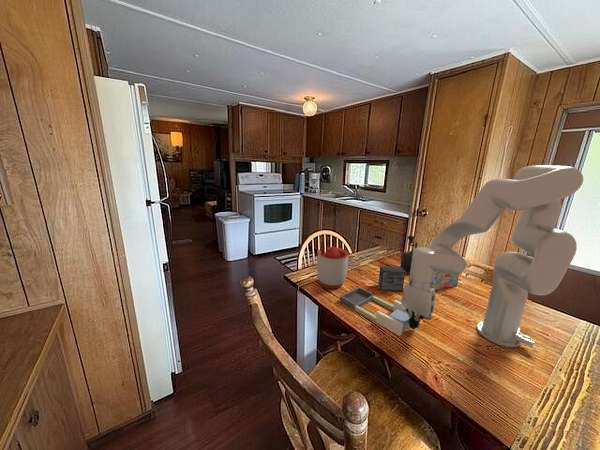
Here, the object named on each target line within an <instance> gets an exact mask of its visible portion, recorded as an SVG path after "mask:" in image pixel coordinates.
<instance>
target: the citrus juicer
mask: <svg viewBox="0 0 600 450" xmlns="http://www.w3.org/2000/svg"><path fill="white" fill-rule="evenodd" d="M316 253H317V262H316V263H317V264H316V266H317V267H316V272H317V277H318V282H319V283H320V285H321V286H322V287H324V288H326V289H332V290H333V289H339V288H341V287H342V286H343V285H344V283H345V281H346V278H347V274H348V268H349V267H348V264H349V256H350V253H349V251H347V250H346V249H344V248H341V247H336V246H329V247H328V246H327V247H326V252H322V250H320V249H318V250H316Z"/></svg>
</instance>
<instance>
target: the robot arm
mask: <svg viewBox="0 0 600 450" xmlns="http://www.w3.org/2000/svg"><path fill="white" fill-rule="evenodd" d="M513 177H514V178H513V179H510V178H509V179H508V178H493V179H491V180H489V181H487V182H486V183H484V185H482V188H481V189H480V190H479V191H478V193H477V194H476V195H475V197H474V198H473V200H471V202H470V204H469V205H468V206H467V208H466V209H465V211H464V213H463V214H461V216H460V217H459V218H458V219H456V220H454V221H453V222H452V223H450V224H448V225H447V226H445V227H444V228H443V229H442V230H440V231H439V233H437V234H436V236H435V237H434V239H433V240H432V242H431V243H430V245H429V247H425V246H419V247H418V246H417V248H415V247H414V249H413V250H412V251H413V256H412V263H411V270H410V272H409V276H408V277H409V278H408V281H406V284H405V285H404V286H405V287H403V292H402V295H401V301H400V302H401V304H402V305H401V307H402V308H403V309H405V310H406V311H407V313H408V316H409V317H410V319H409V324H410V325H409V327H408V328H409V329H412V330H413V331H414V330H415V329H417V328H419V326H420V322H421V321H420V320H425V321H426V320H427V321H431V320H432V319H433V318H432V317H433V316H432V314H434V311H435V303H436V292H435V291H436V290H435V289H436V288H437V285H435V284H434V281H433V280H434V274H435V272H440V273H445V274H451V275H455V274H459V275H460V274H461V273H462V272H464V271H465V270H466V268H467V261H466V259H465V258H464V256H462V255H461V254H459V253H458V252H456V250H454V249H453V248H454V247H455V246H456V244H457V243H459V241H460V240H462V239H463V238H465V237H468V236H473V235H478V234H482V233H487V232H488V231H489V230H490V229H491V228H492V226H493V225H494V224H495V223H496V221H497V220H498V219H499V217H500V216H501V215H502V214H503V212H504V211H505V209H507V210H510V211H515V212H517V211H521V214H520V216H519V218H518V221H517V223H516V225H515V227H514V229H513V232H512V234H511V237H510V241H511V243H512V245H513V246H514V247H515V248H518V249H519V250H521V251H523V252H525V253H528V254H530V255H533V258H532V257H530V256H528V255H525V254H523V253H521V252H518V251H512V250H511V251H503V252H502V253H500V254H498V255H497V256H496V258H494V262H493V268H492V269H493V281H492V285H491V290H490V294H489V296H488V301H487V305H486V310H485V313H484V317H483V318H484V319H483V321H479V322H478V323H477V325H476V330H477V332H478V334H480V335H481V336H482V337H483V338H485V339H486V340H488V341H490V342H492V343H493V344H496V345H498V346H502V347H505V348H506V347H507V348H517V347H519V346H521V344H525V345H527V346H528V347H531V348H533V347H534V345H535V341H533V340H531V337H530V336H529V335H526V334H523V333H522V332H521V328H520V325H521V321H522V317H523V314H524V310H525V307H526V304H527V302H528V301H527V300H528V296H529V295H528V293H530V294H532V295H536V296H547V295H549V294H551V293H553V292H554V291H555V290H556V289H557V288H558V287H559V285H560V283H561V282H562V281H563V278H564V276H565V274H566V272H567V271H568V269H569V267H570V265H571V263H572V261H573V259H574V257H575V255H576V253H577V247H578V245H577V241H576V239H575V237H574V235H572V234H571V233H570V232H567V231H564V230H563V229H560V228H559V229H558V228H556V225H557V222H558V220H559V218H560V215H561V212H562V202H561V200H562V199H565V198H567V197H569V196H572V195H574V194H575V193H576V192H577V191H579V189H580V188H581V187H582V186H583V182H584V176H583V173H582V172H581V171H580V170H579V169H578V168H576V167H573V166H567V165H540V164H539V165H528V166H524V167H521V168H520V169H518V170H517V171H516V173H515V174H514V176H513ZM434 288H435V289H434ZM415 313H417V314H416V316H415Z"/></svg>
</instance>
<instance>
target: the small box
mask: <svg viewBox="0 0 600 450" xmlns="http://www.w3.org/2000/svg"><path fill="white" fill-rule="evenodd" d="M405 275H406V270H405V269H403V268H402V267H400V266H387V265H385V266H384V265H380V266H379V276H378V288H379V289H380V291H387V292H401V293H403V291H404V286H405V285H404V283H405Z"/></svg>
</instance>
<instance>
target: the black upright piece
mask: <svg viewBox="0 0 600 450" xmlns="http://www.w3.org/2000/svg"><path fill="white" fill-rule="evenodd" d="M407 239H408V243H407V246H409V247H414V249H415V248H418V242H415V243H414V240H415V235H408V236H407ZM413 243H414V244H413ZM413 251H414V250H409V251H403V252H401V257H400V266H399V267H402V269H403V270H404V271H405V272H409V273H410V270H411V263H412V256H413Z"/></svg>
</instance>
